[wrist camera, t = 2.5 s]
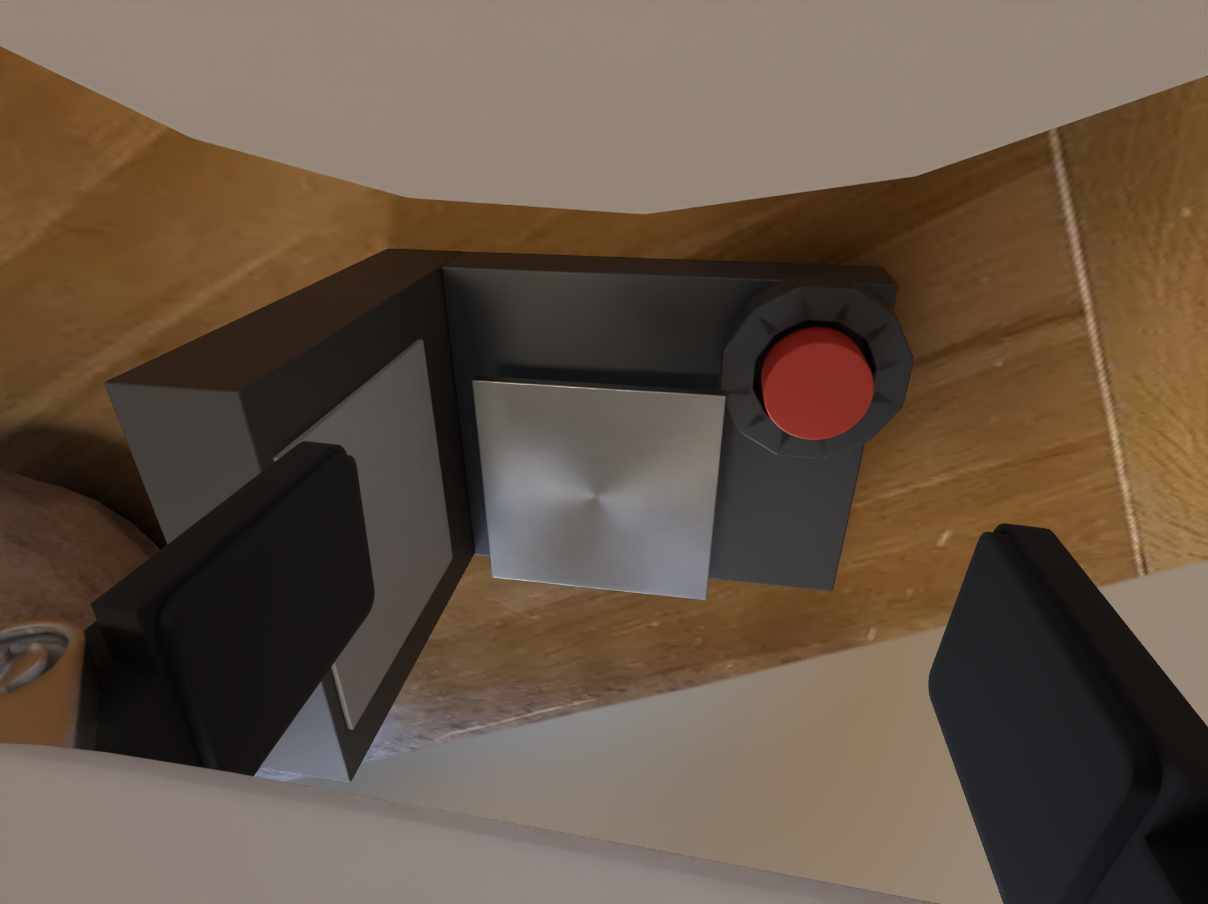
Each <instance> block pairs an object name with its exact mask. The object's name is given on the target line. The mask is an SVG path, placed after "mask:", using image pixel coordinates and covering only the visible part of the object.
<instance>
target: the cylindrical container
mask: <svg viewBox="0 0 1208 904" xmlns="http://www.w3.org/2000/svg"><path fill="white" fill-rule="evenodd" d="M0 46H1V47H3V48H5V49H7V50H9V51H11V52H13V53H15V54H18V55H20V56H22V57H24V58H26V59H28V60H30V61H32V62H34V63H36V64H38V65H41V66H43V67H45V68H47V69H49V70H51V71H53V72H55V73H57V74H59V75H61V76H63V77H66V78H68V79H70V80H72V81H74V82H76V83H78V84H80V85H82V86H84V87H86V88H88V89H91V90H93V91H95V92H97V93H99V94H101V95H103V96H105V97H107V98H109V99H111V100H113V101H116V102H118V103H120V104H122V105H124V106H126V107H128V108H130V109H132V110H134V111H136V112H139V113H141V114H143V115H145V116H147V117H149V118H151V119H153V120H155V121H157V122H159V123H161V124H164V125H166V126H168V127H170V128H172V129H174V130H176V131H178V132H180V133H182V134H184V135H186V136H189V137H191V138H193V139H197V140H200V141H204V142H208V143H211V144H215V145H219V146H222V147H226V148H229V149H233V150H237V151H240V152H244V153H247V154H251V155H255V156H258V157H262V158H266V159H269V160H273V161H276V162H280V163H284V164H287V165H291V166H295V167H298V168H302V169H305V170H309V171H313V172H316V173H320V174H323V175H327V176H331V177H334V178H338V179H342V180H345V181H349V182H352V183H356V184H360V185H363V186H367V187H370V188H374V189H378V190H381V191H385V192H389V193H392V194H396V195H399V196H403V197H407V198H418V199H432V200H447V201H461V202H475V203H490V204H504V205H518V206H533V207H547V208H561V209H575V210H590V211H604V212H618V213H633V214H650V213H657V212H665V211H672V210H679V209H686V208H693V207H700V206H707V205H714V204H722V203H729V202H736V201H743V200H750V199H757V198H764V197H771V196H779V195H786V194H793V193H800V192H807V191H814V190H821V189H828V188H836V187H843V186H850V185H857V184H864V183H871V182H878V181H885V180H893V179H900V178H907V177H914V176H918V175H921V174H924V173H927V172H930V171H933V170H935V169H938V168H941V167H944V166H947V165H950V164H953V163H956V162H959V161H961V160H964V159H967V158H970V157H973V156H976V155H979V154H982V153H985V152H987V151H990V150H993V149H996V148H999V147H1002V146H1005V145H1008V144H1011V143H1014V142H1016V141H1019V140H1022V139H1025V138H1028V137H1031V136H1034V135H1037V134H1040V133H1042V132H1045V131H1048V130H1051V129H1054V128H1057V127H1060V126H1063V125H1066V124H1068V123H1071V122H1074V121H1077V120H1080V119H1083V118H1086V117H1089V116H1092V115H1094V114H1097V113H1100V112H1103V111H1106V110H1109V109H1112V108H1115V107H1118V106H1121V105H1123V104H1126V103H1129V102H1132V101H1135V100H1138V99H1141V98H1144V97H1147V96H1149V95H1152V94H1155V93H1158V92H1161V91H1164V90H1167V89H1170V88H1173V87H1175V86H1178V85H1181V84H1184V83H1187V82H1190V81H1193V80H1196V79H1199V78H1201V77H1204V76H1207V75H1208V0H0Z"/></svg>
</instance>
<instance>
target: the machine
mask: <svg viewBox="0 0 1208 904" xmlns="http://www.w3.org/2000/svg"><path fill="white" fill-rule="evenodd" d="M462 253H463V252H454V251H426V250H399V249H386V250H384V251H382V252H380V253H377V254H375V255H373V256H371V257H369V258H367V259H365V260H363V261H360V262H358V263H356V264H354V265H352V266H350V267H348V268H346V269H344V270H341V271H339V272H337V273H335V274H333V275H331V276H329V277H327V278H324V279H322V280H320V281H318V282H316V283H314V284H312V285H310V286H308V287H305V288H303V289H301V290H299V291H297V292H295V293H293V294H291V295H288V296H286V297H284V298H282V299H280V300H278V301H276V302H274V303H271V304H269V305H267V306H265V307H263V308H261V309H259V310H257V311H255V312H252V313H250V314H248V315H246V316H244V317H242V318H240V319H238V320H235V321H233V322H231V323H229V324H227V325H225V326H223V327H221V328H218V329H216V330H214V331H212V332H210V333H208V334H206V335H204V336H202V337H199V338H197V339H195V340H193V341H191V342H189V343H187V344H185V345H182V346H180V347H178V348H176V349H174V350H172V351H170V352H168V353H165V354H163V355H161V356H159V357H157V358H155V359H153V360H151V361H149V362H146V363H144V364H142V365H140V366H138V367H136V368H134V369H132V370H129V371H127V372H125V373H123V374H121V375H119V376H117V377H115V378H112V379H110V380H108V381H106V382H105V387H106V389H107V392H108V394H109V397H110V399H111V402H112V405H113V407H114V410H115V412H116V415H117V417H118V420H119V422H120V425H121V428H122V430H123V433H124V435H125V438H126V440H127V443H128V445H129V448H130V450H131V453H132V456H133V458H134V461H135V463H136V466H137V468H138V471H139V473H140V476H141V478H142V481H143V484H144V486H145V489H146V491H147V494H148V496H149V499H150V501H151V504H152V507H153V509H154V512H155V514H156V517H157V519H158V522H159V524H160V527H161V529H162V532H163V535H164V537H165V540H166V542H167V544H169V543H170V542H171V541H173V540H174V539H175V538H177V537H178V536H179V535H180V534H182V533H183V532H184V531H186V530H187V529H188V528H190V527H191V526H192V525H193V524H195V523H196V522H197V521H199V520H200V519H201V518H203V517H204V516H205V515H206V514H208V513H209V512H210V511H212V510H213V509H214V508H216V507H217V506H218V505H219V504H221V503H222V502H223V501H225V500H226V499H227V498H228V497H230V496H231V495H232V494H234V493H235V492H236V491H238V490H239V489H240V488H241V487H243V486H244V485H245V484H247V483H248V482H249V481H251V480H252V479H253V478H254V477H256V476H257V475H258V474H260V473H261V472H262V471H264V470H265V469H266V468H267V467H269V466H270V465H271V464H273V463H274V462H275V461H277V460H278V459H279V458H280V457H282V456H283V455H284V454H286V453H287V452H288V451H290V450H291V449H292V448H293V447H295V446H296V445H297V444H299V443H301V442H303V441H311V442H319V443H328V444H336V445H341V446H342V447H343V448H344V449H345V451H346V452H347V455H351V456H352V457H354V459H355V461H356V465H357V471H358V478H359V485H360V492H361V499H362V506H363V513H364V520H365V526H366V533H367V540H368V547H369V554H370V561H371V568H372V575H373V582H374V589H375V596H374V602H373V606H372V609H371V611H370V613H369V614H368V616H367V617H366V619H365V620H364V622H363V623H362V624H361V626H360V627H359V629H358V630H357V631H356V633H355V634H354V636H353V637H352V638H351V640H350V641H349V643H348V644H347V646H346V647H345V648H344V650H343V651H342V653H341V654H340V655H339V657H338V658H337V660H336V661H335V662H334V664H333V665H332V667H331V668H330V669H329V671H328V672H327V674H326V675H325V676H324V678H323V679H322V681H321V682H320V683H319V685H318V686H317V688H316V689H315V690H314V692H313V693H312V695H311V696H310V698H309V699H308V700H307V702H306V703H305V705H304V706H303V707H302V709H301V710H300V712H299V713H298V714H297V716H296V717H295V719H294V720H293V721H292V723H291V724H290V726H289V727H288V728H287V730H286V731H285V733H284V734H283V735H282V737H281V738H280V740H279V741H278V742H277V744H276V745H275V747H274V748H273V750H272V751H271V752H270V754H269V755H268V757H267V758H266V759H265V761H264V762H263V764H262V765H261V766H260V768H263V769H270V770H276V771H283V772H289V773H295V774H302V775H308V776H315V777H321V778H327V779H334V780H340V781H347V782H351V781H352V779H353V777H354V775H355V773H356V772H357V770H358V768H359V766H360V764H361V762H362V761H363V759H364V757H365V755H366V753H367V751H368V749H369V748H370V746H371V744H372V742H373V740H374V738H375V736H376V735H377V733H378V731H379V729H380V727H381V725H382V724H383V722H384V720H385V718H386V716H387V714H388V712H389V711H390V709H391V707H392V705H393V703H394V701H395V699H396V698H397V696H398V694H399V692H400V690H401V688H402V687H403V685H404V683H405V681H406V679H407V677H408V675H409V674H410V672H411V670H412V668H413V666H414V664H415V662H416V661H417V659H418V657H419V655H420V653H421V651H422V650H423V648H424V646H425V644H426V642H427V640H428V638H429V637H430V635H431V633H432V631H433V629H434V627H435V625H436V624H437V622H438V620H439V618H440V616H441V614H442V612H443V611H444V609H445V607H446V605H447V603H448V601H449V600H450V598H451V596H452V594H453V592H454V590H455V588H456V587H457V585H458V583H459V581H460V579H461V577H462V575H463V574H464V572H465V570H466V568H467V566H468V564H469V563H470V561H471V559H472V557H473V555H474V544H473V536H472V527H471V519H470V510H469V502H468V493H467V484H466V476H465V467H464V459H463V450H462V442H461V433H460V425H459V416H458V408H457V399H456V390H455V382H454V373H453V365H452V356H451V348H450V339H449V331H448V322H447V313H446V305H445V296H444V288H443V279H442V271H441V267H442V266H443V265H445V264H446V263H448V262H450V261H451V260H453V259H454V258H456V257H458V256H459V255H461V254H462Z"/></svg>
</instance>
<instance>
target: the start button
mask: <svg viewBox="0 0 1208 904" xmlns="http://www.w3.org/2000/svg"><path fill="white" fill-rule="evenodd" d="M761 382H762V390H763V398H764V404H765V408H766V410H767V413H768V415H769V416H770V418H771V419H772V421H773V422H774V423H775V424H776V425H777V426H778V427H779V428H780V429H782V430H783V431H785V432H787V433H788V434H790V435H793V436H796V437H799V438H803V439H810V440H818V439H826V438H831V437H834V436H837V435H839V434H841V433H844V432H845V431H847V430H849V429H850V428H852V427H853V426H854V425H855V424H857V423H858V422H859V421H860V420H861V418H862V417H863V416H864V415H865V413H866V412H867V410H868V408H869V406H870V404H871V401H872V398H873V393H874V381H873V376H872V373H871V370H870V368H869V366H868V364H867V362H866V360H865V358H864V356H863V354H862V352H861V350H860V349H859V347H858V346H857V344H856V343H855V342H854V341H853V340H852V339H851V338H850V337H849V336H847V335H846V334H844V333H842V332H840V331H838V330H835V329H832V328H828V327H806V328H802V329H799V330H796V331H794V332H791V333H790V334H788V335H786V336H785V337H783V338H782V339H780V340H779V341H778V342H777V343H776V344H775V345H774V346H773V347H772V348H771V350H770V351H769V353H768V354H767V356H766V358H765V360H764V363H763V366H762V372H761Z"/></svg>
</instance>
